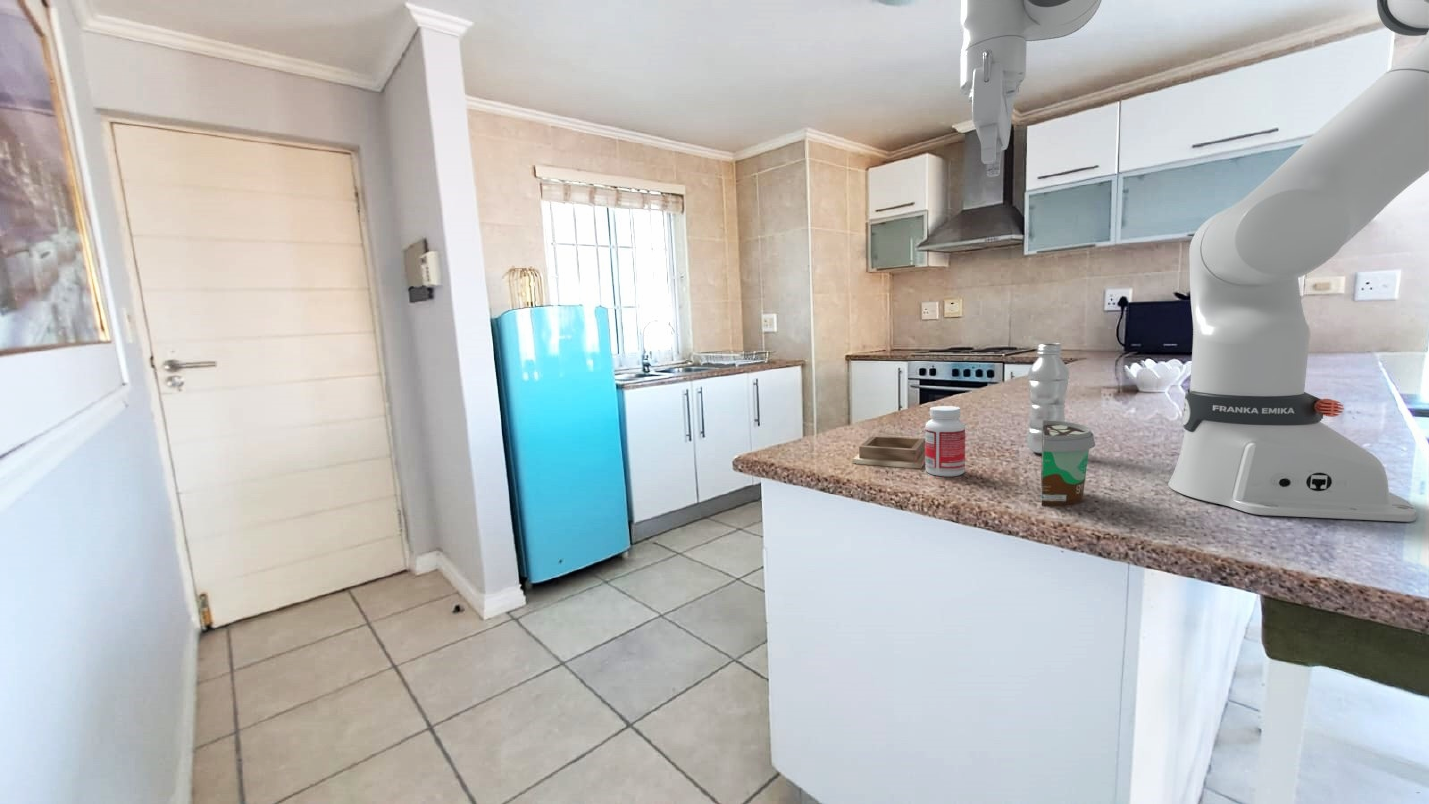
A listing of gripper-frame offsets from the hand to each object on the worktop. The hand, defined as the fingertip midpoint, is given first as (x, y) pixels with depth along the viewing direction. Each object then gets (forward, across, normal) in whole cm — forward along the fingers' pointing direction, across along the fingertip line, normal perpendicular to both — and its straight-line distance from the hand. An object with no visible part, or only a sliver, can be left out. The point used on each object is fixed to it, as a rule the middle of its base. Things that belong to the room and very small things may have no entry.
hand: (991, 169), depth 84 cm
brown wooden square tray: (+48, +6, +16) cm, 51 cm away
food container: (+48, -9, -11) cm, 50 cm away
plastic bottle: (+48, +17, -8) cm, 52 cm away
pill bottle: (+48, -1, +6) cm, 49 cm away
